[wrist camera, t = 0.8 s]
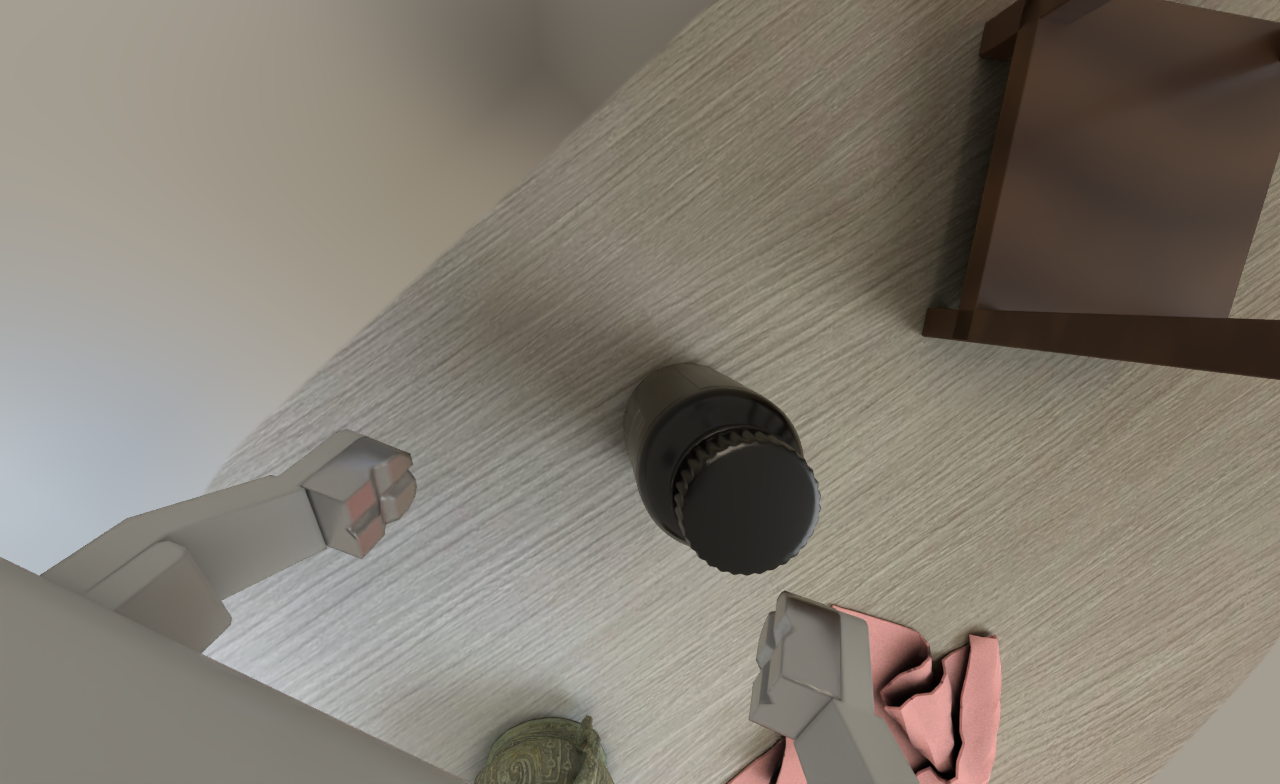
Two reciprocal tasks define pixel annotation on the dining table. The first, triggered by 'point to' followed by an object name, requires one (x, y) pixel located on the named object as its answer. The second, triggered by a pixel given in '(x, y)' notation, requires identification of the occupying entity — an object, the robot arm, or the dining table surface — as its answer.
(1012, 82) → the shelf
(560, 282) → the dining table surface
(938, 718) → the cloth
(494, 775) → the vessel
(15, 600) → the robot arm
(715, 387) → the supplement bottle
